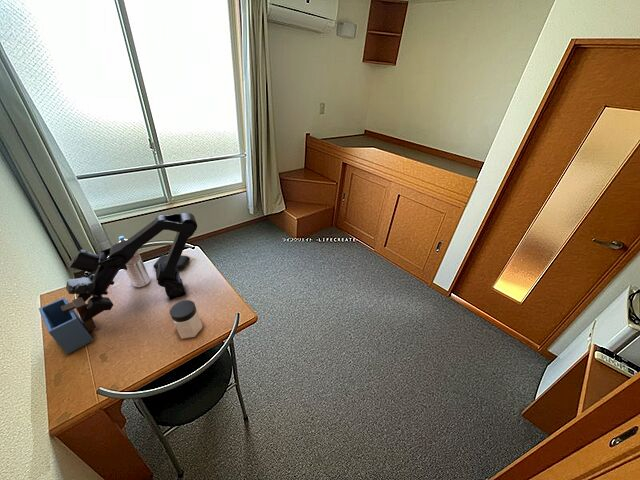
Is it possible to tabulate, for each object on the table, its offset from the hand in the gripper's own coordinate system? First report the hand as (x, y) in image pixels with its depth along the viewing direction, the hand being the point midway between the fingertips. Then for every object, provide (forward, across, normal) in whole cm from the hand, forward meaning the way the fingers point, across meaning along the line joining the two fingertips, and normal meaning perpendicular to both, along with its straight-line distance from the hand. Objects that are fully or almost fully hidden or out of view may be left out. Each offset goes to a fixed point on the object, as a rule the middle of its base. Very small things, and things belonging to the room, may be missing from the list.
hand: (80, 314), depth 90 cm
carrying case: (-20, -14, +32) cm, 40 cm away
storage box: (+9, 0, +2) cm, 9 cm away
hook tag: (+6, 0, +4) cm, 7 cm away
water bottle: (-10, -11, +21) cm, 26 cm away
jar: (-11, +28, +22) cm, 37 cm away
